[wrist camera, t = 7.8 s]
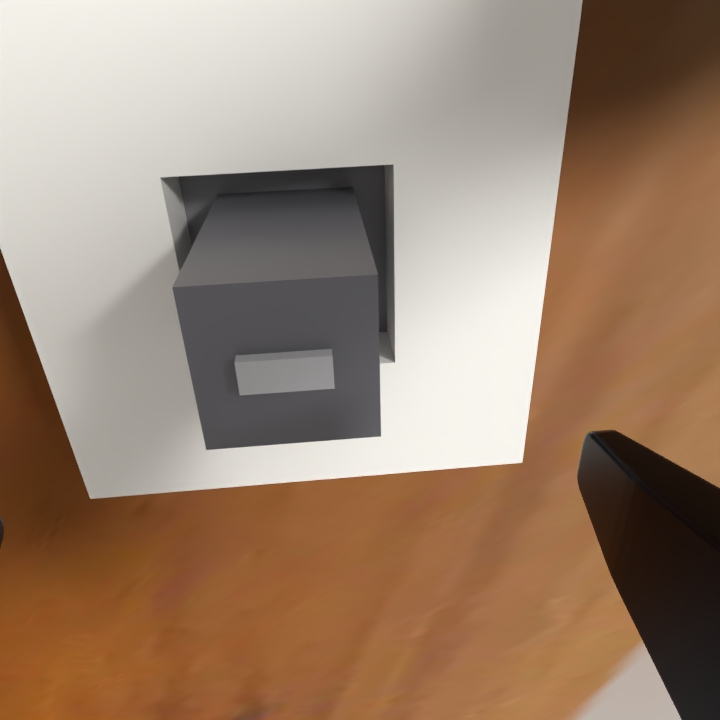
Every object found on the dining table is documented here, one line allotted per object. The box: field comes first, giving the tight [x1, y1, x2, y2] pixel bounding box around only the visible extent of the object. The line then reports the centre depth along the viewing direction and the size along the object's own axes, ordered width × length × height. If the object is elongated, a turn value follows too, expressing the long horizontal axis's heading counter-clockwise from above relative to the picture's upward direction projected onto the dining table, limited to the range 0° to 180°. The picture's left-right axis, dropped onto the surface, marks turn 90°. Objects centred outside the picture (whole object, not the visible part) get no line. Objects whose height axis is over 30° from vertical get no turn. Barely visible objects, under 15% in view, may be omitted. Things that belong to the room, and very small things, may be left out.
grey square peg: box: [172, 187, 381, 450], centre depth 15 cm, size 4×4×7 cm
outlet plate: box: [0, 0, 583, 499], centre depth 18 cm, size 15×15×3 cm
